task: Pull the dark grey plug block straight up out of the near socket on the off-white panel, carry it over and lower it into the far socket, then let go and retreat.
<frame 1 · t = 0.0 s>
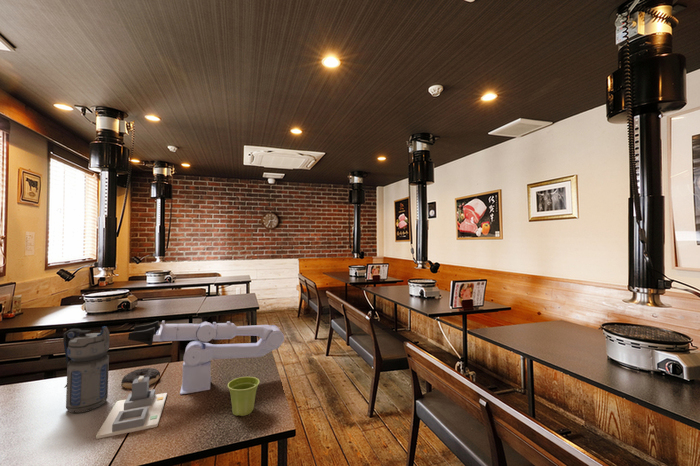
hand: (131, 333, 104), 22 cm above the table, tool horizontal, fingers open, 7 cm apart
plug: (140, 402, 99), point 1 cm above the table, touching panel
donut: (141, 383, 116), on the table
beverage bottle: (84, 406, 98), on the table
plant pot: (243, 411, 96), on the table
panel: (135, 414, 94), on the table
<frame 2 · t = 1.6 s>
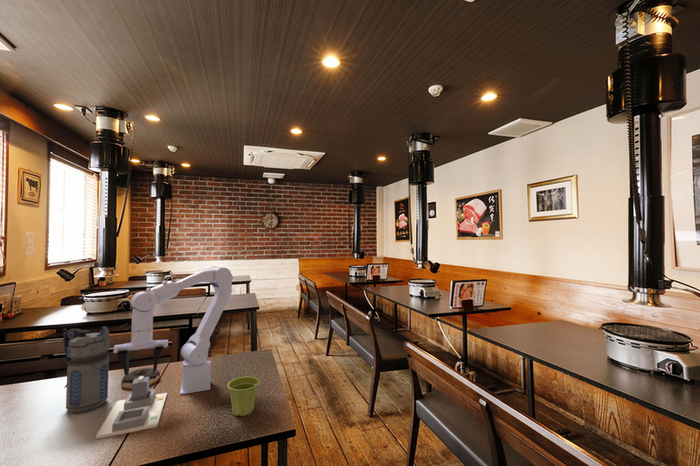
hand: (141, 371, 100), 10 cm above the table, tool pointing down, fingers open, 7 cm apart
nothing on the table moved.
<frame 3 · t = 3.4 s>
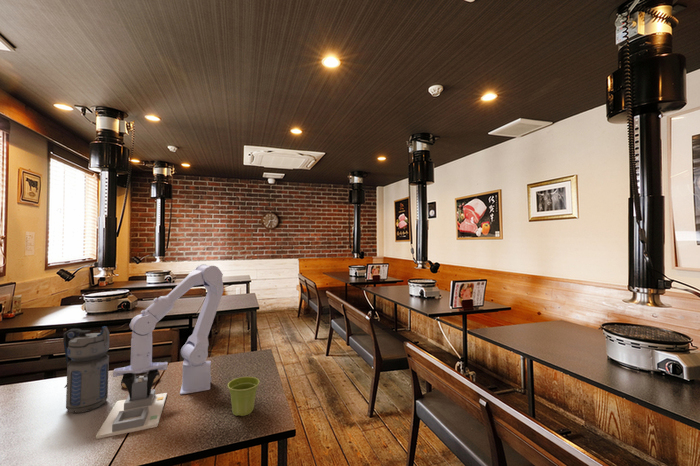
hand: (140, 395, 100), 3 cm above the table, tool pointing down, fingers closed on plug, 4 cm apart
plug: (140, 402, 99), point 1 cm above the table, touching gripper, panel
everything else where it was.
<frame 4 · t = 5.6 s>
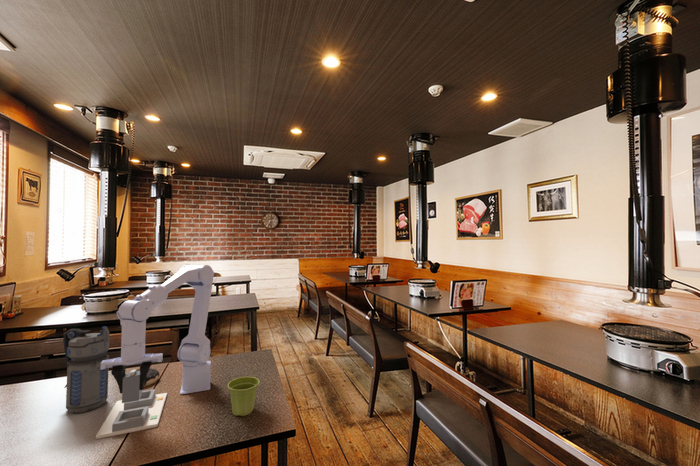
hand: (132, 390, 89), 10 cm above the table, tool pointing down, fingers closed on plug, 4 cm apart
plug: (132, 398, 89), point 7 cm above the table, touching gripper
everything else where it was.
when the fingers open (4 cm above the table, at t = 7.7 s): plug stays where it is, resting on panel.
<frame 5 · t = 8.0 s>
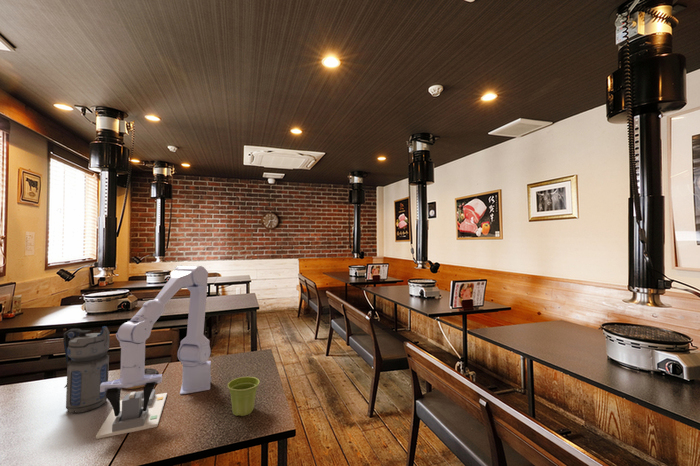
hand: (131, 412, 89), 4 cm above the table, tool pointing down, fingers open, 6 cm apart
plug: (131, 421, 89), point 1 cm above the table, touching panel
everything else where it was.
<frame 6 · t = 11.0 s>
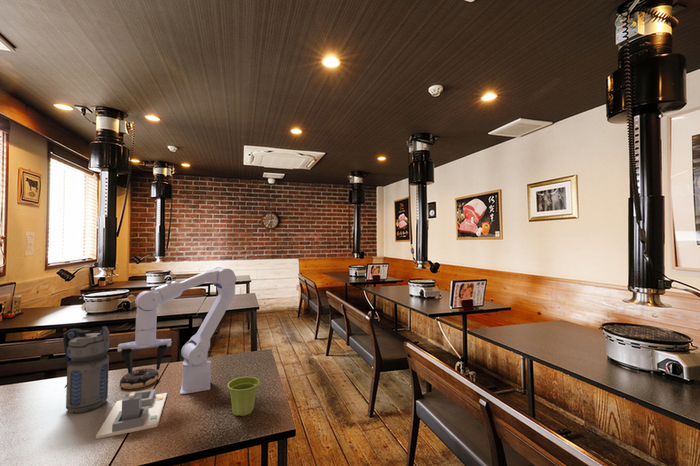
hand: (144, 370, 101), 10 cm above the table, tool pointing down, fingers open, 7 cm apart
nothing on the table moved.
at the end: plug 0.4 cm from the target spot on the panel, point 0.8 cm above the panel's base; plug tilted 0°; the gripper is holding nothing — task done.
